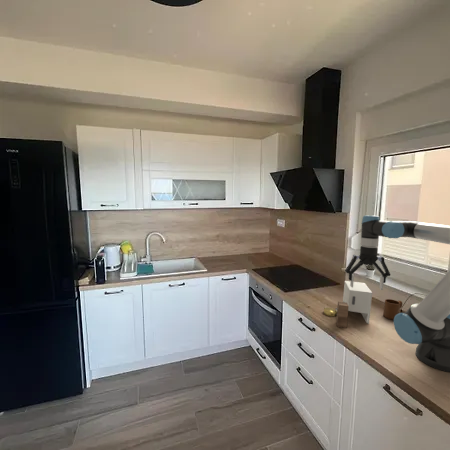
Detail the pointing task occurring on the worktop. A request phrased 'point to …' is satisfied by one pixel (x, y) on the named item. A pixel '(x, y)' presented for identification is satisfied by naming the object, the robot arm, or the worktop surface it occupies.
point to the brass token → (330, 312)
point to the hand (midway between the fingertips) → (366, 287)
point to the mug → (391, 308)
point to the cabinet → (358, 298)
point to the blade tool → (342, 314)
